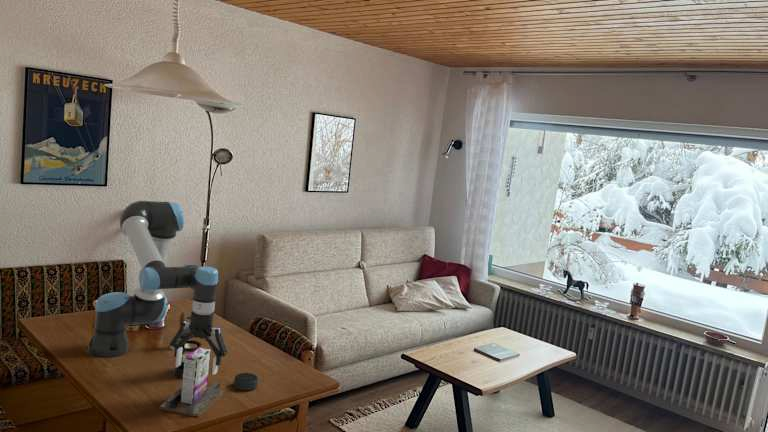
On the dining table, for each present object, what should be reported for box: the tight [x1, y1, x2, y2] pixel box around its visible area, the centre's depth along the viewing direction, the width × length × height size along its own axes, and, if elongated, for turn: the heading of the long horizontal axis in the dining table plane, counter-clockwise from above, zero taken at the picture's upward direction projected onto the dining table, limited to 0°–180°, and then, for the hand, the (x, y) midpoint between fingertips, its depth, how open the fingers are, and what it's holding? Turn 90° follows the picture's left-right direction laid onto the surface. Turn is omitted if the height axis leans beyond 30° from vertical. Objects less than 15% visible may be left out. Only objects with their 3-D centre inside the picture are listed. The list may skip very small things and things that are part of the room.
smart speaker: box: [233, 372, 259, 392], centre depth 223 cm, size 9×9×4 cm
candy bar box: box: [181, 347, 212, 405], centre depth 205 cm, size 11×5×16 cm, turn 172°
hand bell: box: [169, 311, 191, 352], centre depth 251 cm, size 8×8×16 cm
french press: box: [172, 315, 202, 379], centre depth 226 cm, size 12×9×23 cm
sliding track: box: [159, 381, 225, 418], centre depth 206 cm, size 14×21×4 cm, turn 172°
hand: (196, 369), depth 205 cm, fingers open, 13 cm apart
